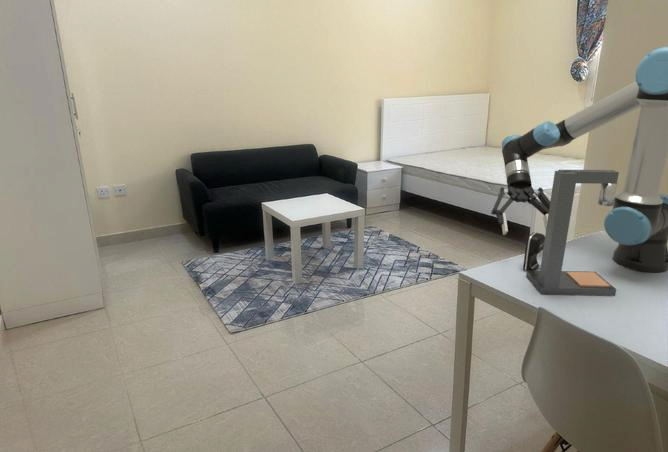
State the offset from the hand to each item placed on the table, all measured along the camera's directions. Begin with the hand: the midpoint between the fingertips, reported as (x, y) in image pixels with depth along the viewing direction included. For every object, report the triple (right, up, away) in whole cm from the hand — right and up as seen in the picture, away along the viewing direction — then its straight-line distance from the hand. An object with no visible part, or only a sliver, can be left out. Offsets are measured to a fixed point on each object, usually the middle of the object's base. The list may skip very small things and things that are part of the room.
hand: (527, 233), depth 146 cm
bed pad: (+11, -13, -15) cm, 23 cm away
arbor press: (+6, -15, -14) cm, 21 cm away
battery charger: (+1, -11, -2) cm, 11 cm away
